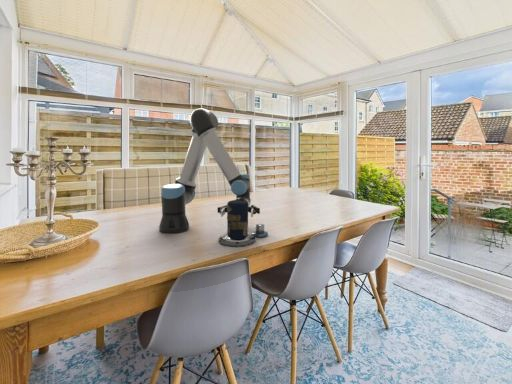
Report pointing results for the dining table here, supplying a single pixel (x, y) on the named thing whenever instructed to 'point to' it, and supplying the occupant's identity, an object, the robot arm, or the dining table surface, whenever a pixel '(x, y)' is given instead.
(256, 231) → the flange small
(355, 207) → the dining table surface
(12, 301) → the dining table surface
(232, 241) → the flange wide
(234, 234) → the canister
